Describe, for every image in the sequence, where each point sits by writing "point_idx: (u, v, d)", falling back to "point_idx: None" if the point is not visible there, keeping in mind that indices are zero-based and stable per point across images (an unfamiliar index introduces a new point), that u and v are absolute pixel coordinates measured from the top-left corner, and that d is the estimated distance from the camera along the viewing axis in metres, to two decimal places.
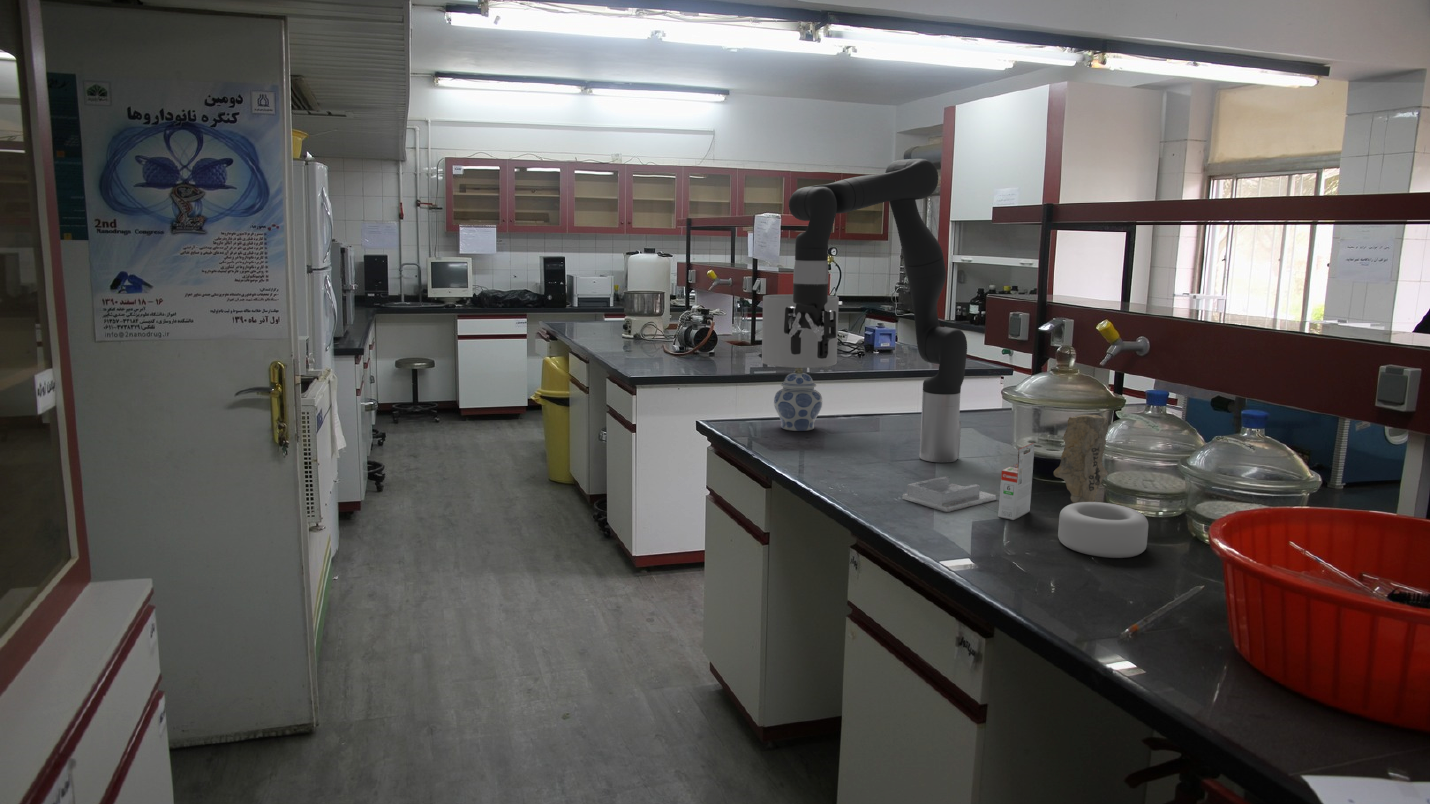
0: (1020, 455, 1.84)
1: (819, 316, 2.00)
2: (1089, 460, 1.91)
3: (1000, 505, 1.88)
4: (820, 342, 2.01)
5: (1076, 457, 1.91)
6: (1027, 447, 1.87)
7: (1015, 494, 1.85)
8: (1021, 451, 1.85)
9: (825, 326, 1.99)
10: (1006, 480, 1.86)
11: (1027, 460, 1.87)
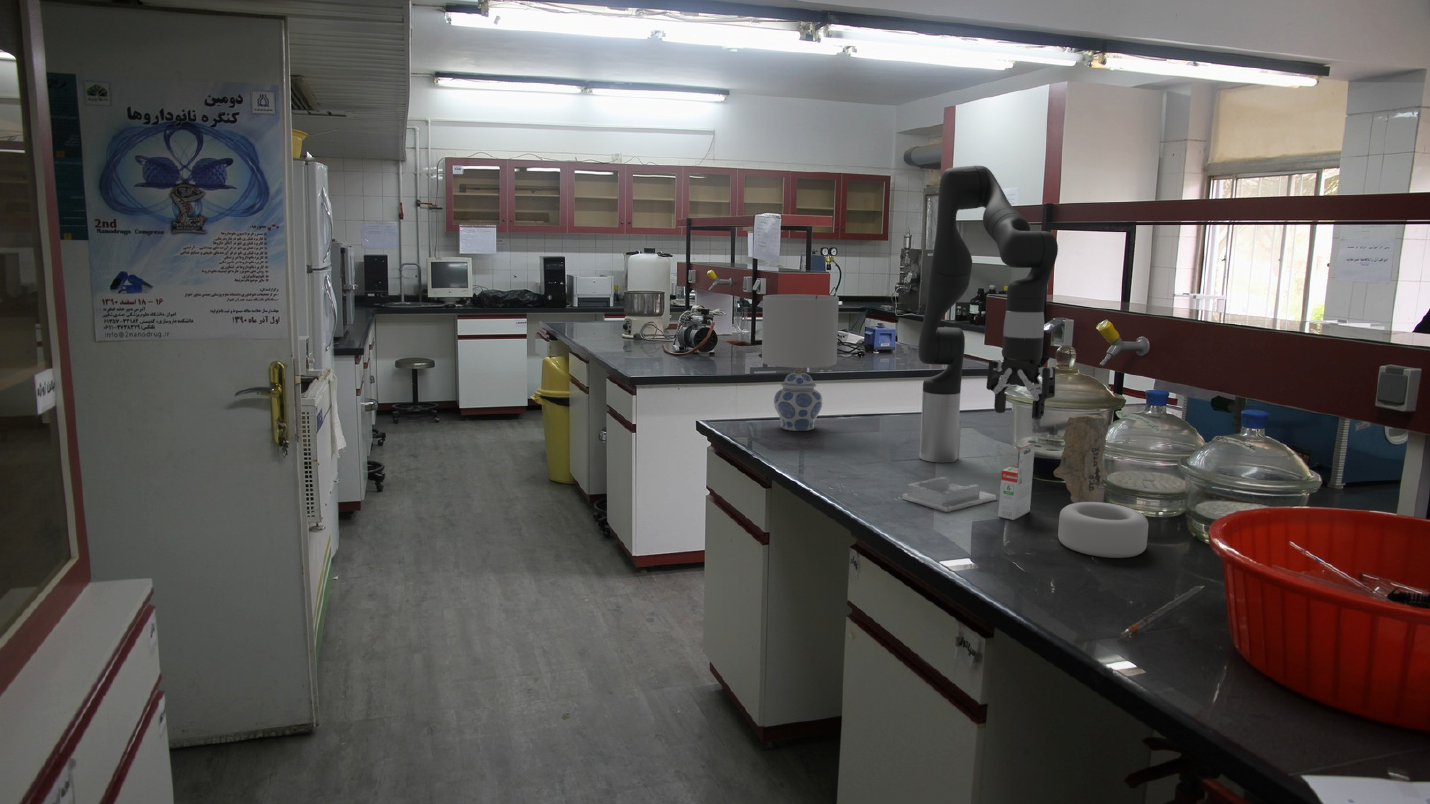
0: (1020, 455, 1.84)
1: (1035, 373, 1.81)
2: (1089, 460, 1.91)
3: (1000, 505, 1.88)
4: (1036, 401, 1.82)
5: (1076, 457, 1.91)
6: (1027, 447, 1.87)
7: (1015, 494, 1.85)
8: (1021, 451, 1.85)
9: (1044, 384, 1.80)
10: (1006, 480, 1.86)
11: (1027, 460, 1.87)
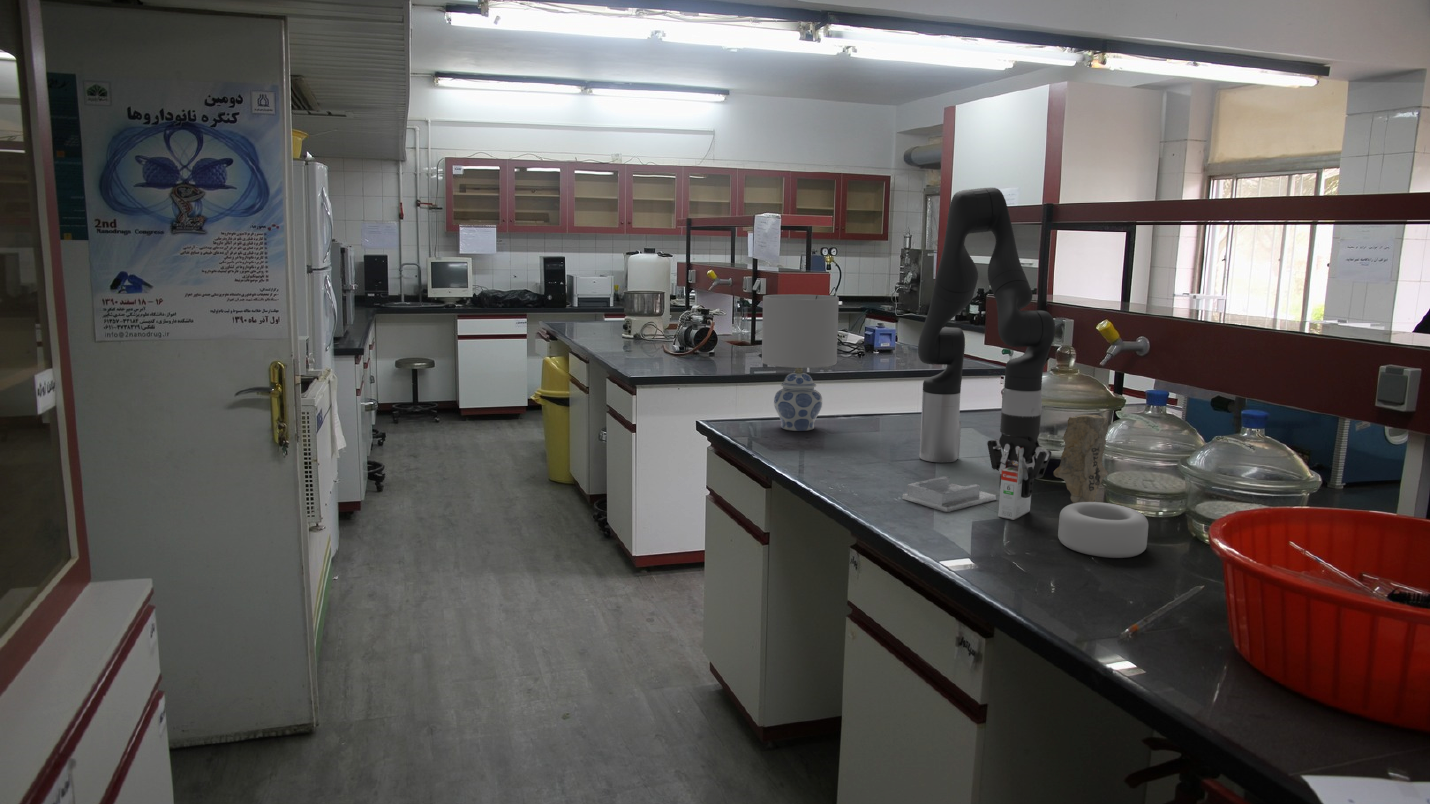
0: (1020, 455, 1.84)
1: (1032, 451, 1.84)
2: (1089, 460, 1.91)
3: (1000, 505, 1.88)
4: (1025, 481, 1.86)
5: (1076, 457, 1.91)
6: None
7: (1015, 494, 1.85)
8: (1021, 451, 1.85)
9: (1036, 466, 1.83)
10: (1006, 480, 1.86)
11: None
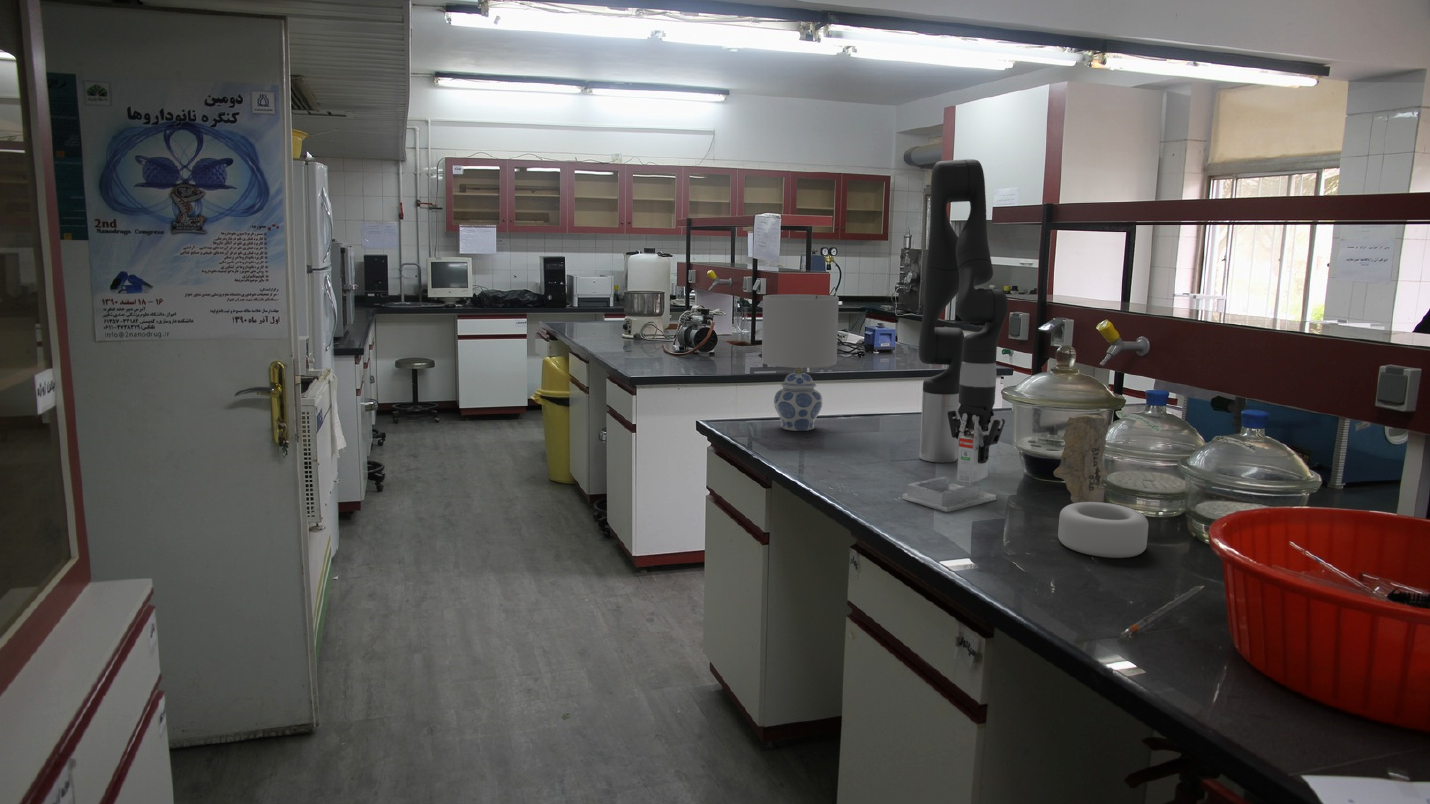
0: (975, 423, 1.99)
1: (987, 420, 1.99)
2: (1089, 460, 1.91)
3: (958, 470, 2.02)
4: (981, 447, 2.01)
5: (1076, 457, 1.91)
6: None
7: (972, 459, 2.00)
8: (976, 419, 1.99)
9: (991, 433, 1.98)
10: (963, 447, 2.01)
11: None
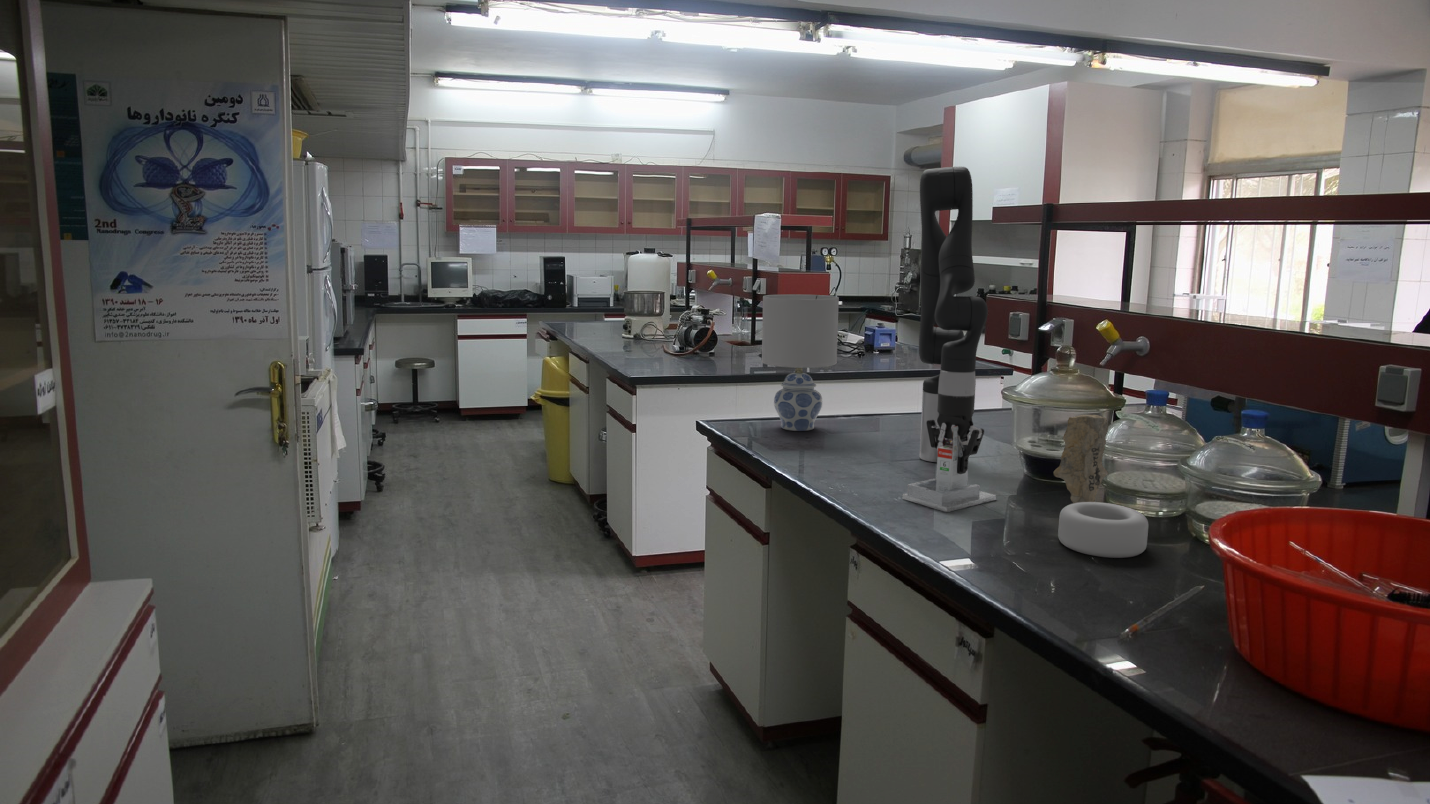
0: (954, 433, 1.95)
1: (966, 429, 1.95)
2: (1089, 460, 1.91)
3: (937, 481, 1.98)
4: (960, 458, 1.97)
5: (1076, 457, 1.91)
6: None
7: (951, 470, 1.96)
8: (955, 429, 1.95)
9: (970, 443, 1.94)
10: (942, 457, 1.97)
11: None
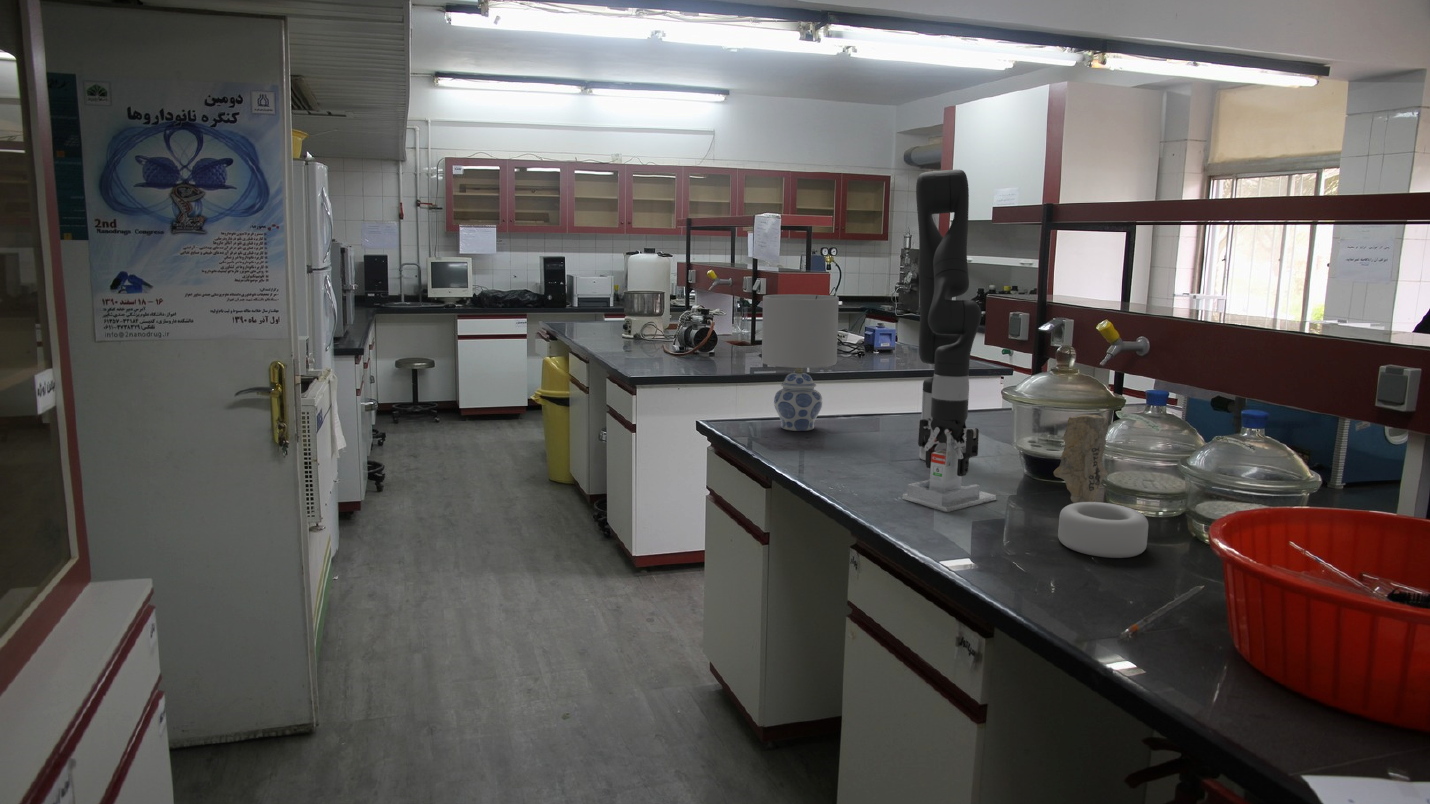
0: (948, 438, 1.94)
1: (960, 433, 1.94)
2: (1089, 460, 1.91)
3: (930, 486, 1.97)
4: (960, 460, 1.94)
5: (1076, 457, 1.91)
6: None
7: (944, 476, 1.95)
8: (949, 435, 1.94)
9: (968, 445, 1.92)
10: (935, 462, 1.96)
11: None
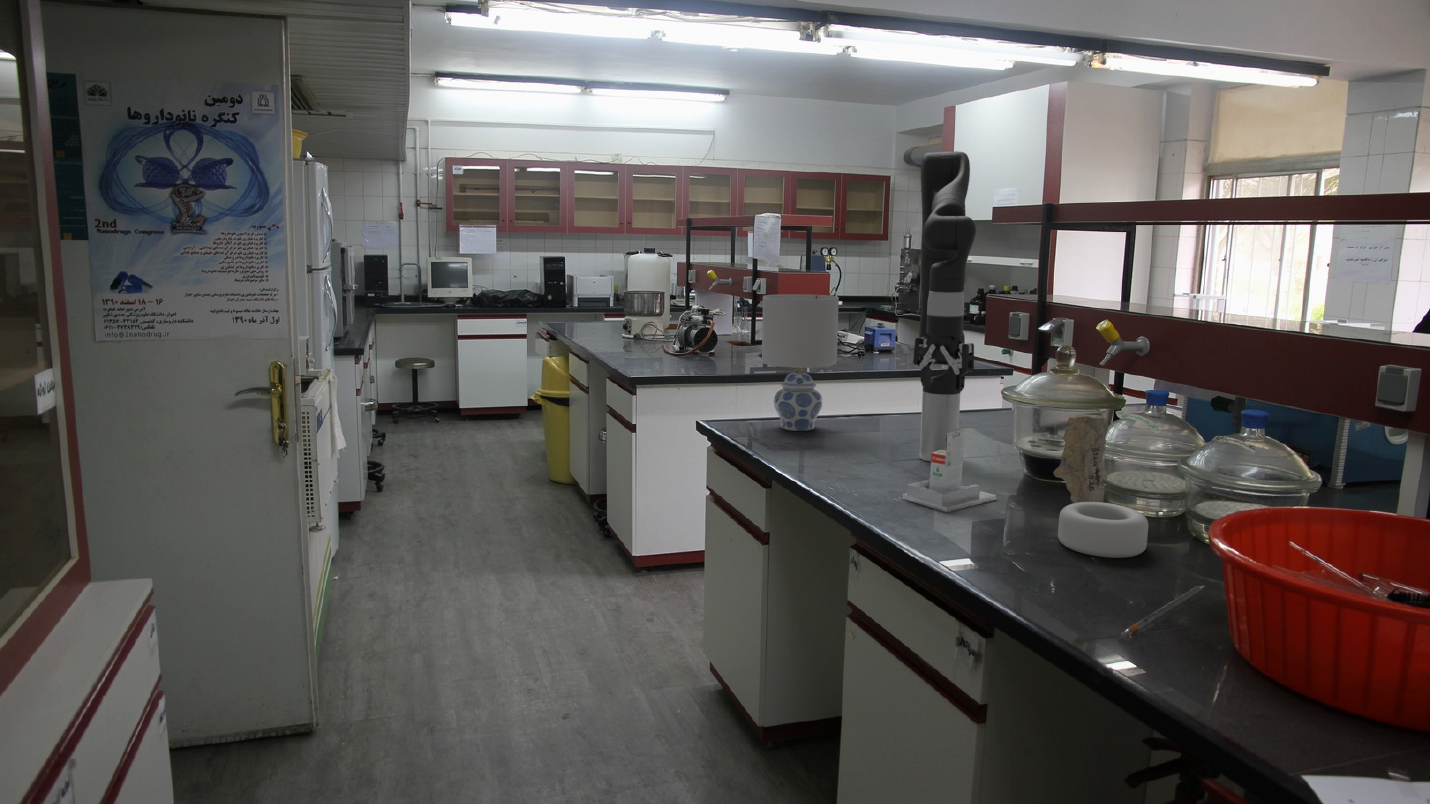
0: (948, 438, 1.94)
1: (956, 349, 1.95)
2: (1089, 460, 1.91)
3: (930, 486, 1.97)
4: (957, 375, 1.96)
5: (1076, 457, 1.91)
6: (956, 431, 1.96)
7: (944, 476, 1.95)
8: (949, 435, 1.94)
9: (963, 359, 1.93)
10: (935, 462, 1.96)
11: (956, 443, 1.97)
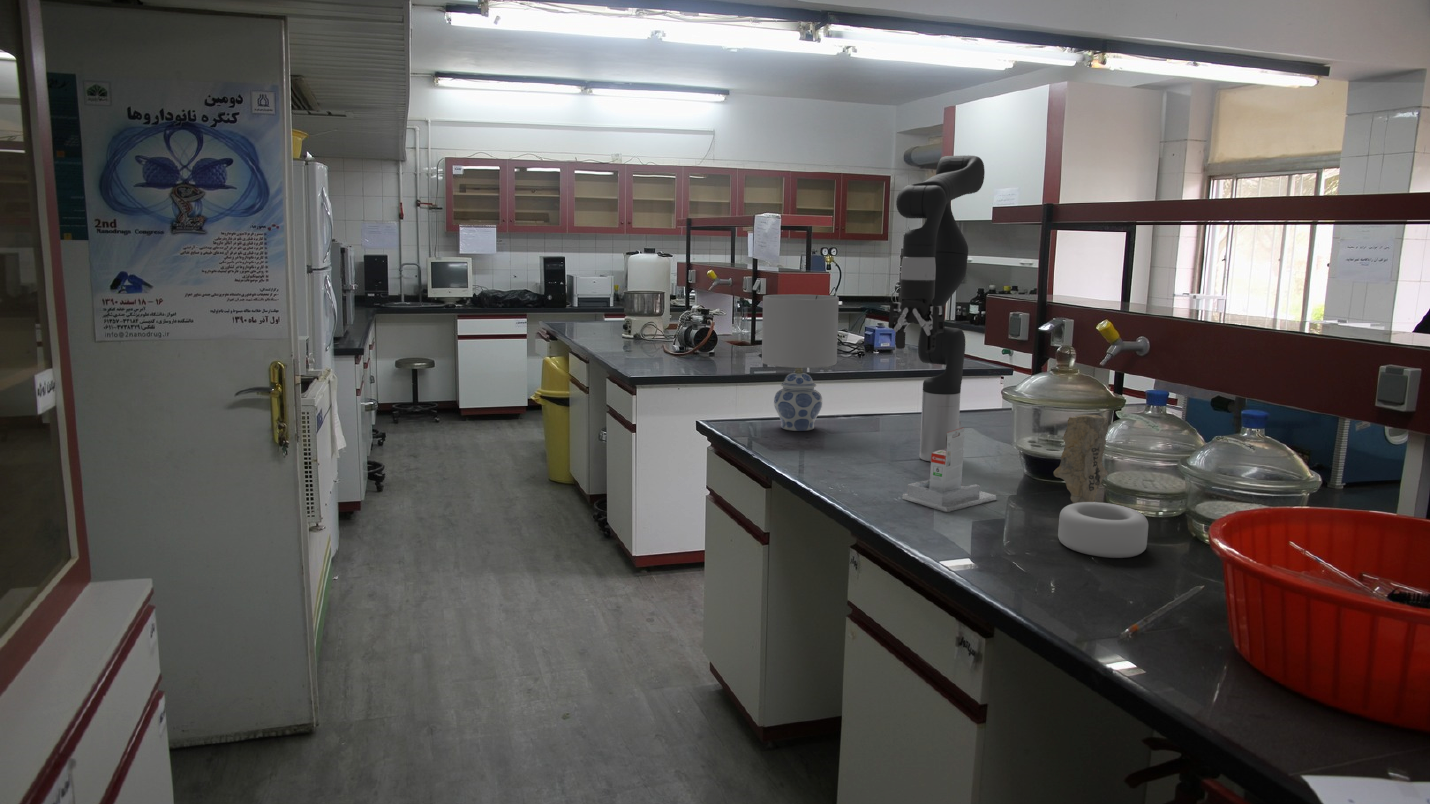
0: (948, 438, 1.94)
1: (927, 311, 2.06)
2: (1089, 460, 1.91)
3: (930, 486, 1.97)
4: (928, 336, 2.06)
5: (1076, 457, 1.91)
6: (956, 431, 1.96)
7: (944, 476, 1.95)
8: (949, 435, 1.94)
9: (934, 321, 2.04)
10: (935, 462, 1.96)
11: (956, 443, 1.97)
